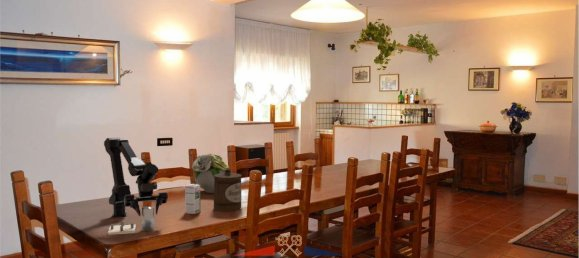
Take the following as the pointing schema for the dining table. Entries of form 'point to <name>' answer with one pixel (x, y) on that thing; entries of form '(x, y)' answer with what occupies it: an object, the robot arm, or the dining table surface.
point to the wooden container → (227, 191)
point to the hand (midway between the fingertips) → (148, 215)
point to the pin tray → (122, 229)
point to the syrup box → (192, 199)
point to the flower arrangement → (208, 170)
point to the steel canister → (147, 218)
